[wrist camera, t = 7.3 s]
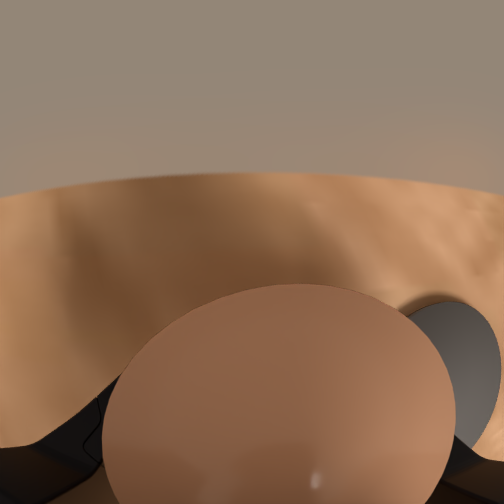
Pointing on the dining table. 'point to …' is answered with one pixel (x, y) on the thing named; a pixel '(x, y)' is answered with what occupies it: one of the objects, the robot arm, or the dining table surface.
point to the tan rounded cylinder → (282, 405)
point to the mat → (465, 362)
